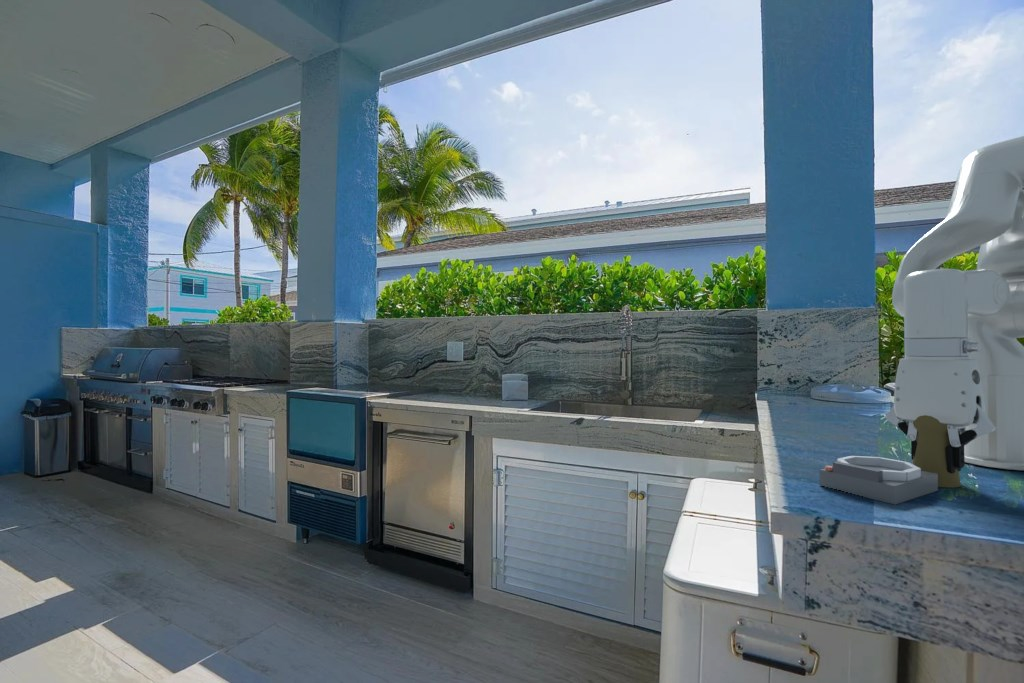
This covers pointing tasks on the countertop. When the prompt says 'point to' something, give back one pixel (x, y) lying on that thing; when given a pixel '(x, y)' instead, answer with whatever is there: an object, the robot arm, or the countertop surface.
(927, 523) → the countertop surface
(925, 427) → the cork
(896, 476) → the octagon ring plate
